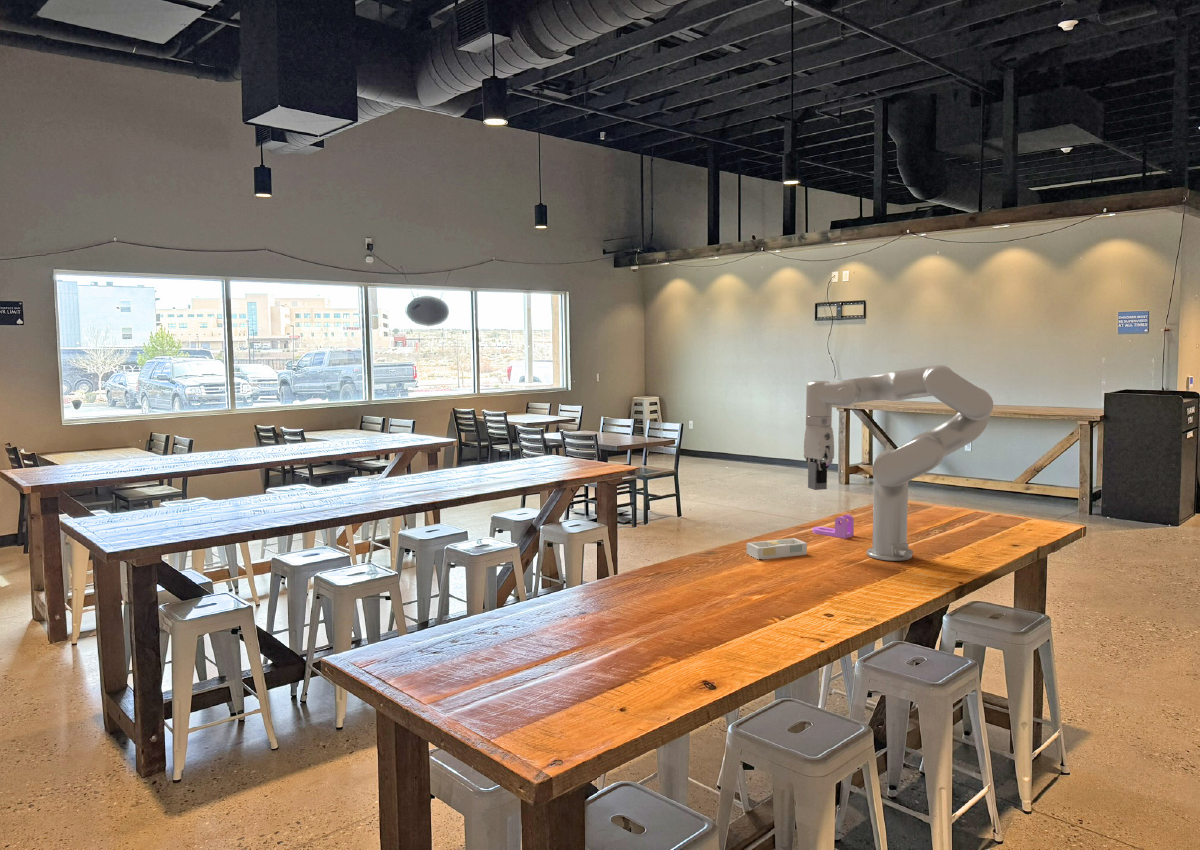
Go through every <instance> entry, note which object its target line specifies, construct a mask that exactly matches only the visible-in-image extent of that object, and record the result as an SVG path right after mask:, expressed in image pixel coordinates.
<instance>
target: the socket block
mask: <svg viewBox="0 0 1200 850" xmlns="http://www.w3.org/2000/svg"><path fill="white" fill-rule="evenodd" d="M747 554H749V555H750V556H749V555H748V556H749V557H751V556H752V557H751V558H753V557H754V558H753V559H755V558H756V559H755V560H757V559H758V560H757V561H760V560H759V559H762V560H769V559H780V558H788V557H797V556H805V555H807V554H808V543H807V542H805V541H803V540H800V539H798V538H796V537H795V538H794V537H791V538H781V539H773V540H762V541H754V542H746V555H747Z"/></svg>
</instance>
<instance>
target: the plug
mask: <svg viewBox="0 0 1200 850" xmlns="http://www.w3.org/2000/svg"><path fill="white" fill-rule="evenodd" d="M822 463H823V462H821V465H822ZM807 470H808V471H807V474H808V475H807V489H811V490H813V491H819V490H820V491H822V490H827V489H828V487H827V486H828V481H827V482H826V483H817V470H818V461H815V462H809V465H808V467H807Z"/></svg>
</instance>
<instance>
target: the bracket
mask: <svg viewBox="0 0 1200 850" xmlns="http://www.w3.org/2000/svg"><path fill="white" fill-rule="evenodd" d="M854 526H855V519H854V517H853V516H852V515H851V514H844V515H843V516H838V517H836V518H835V521H834V528H832V527H826V526H814V527H812V533H813V534H816V535H820V536H821V535H822V536H828V537H833V538H840V539H843V540H844V539H848V538H851V537H854V530H855V527H854Z"/></svg>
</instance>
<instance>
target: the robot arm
mask: <svg viewBox="0 0 1200 850" xmlns="http://www.w3.org/2000/svg"><path fill="white" fill-rule="evenodd" d="M805 391H806V393H805V394H806V396H805V397H806V399H805V400H806V402H805V403H806V404H805V407H806V408H805V432H804V441H803V458H804V459H805V461H806V463H807V465H806V467H807V468H808V465H809V462H815V461H818V470H817V483H826V482H827V483H828V470H829V467H830V465H832V463H833V460H834V458H835V438H834V430H833V427H832V424H833V423H832V421H833V420H832V418H833V415H832V414H833V410H832V409H833V406H836V407H837V406H838V407H844V408H845V407H849V406H851V405H853V404H858V403H863V402H864V403H866V402H873V401H891V402H892V401H904V400H911V399H919V398H927V397H934V398H935V399H937V400H938V401H939V402H941V403H942V404H944V405H945V406H947V407H949V408H951V409H953V410H954V411H955V412H957V413H956V414H955V415H953V417H951V418H950V419H948V420H946V421H944V422H943V423H941V424H939V425H937V426H935V427H933V428H931V429H929V430H927V431H925V432H923V433H920V434H918V435H917V434H916V436H914V437H913V438H912V439H911V440H910V442H909V441H908V442H907V443H906V444H904V445H902V446H899V447H897V448H896V449H886V450H883V451H882V452H880V453H879V454H878V455H877V457H876V458H875V460H874V462H873V464H872V470H871V471H872V477H873V478H874V479H873V506H872V507H873V508H872V510H873V511H872V512H873V513H872V515H873V516H872V547H870V548H868V549H866V554H867V556H868V557H870V558H873V559H877V560H882V561H893V562H894V561H895V562H899V561H900V562H902V561H907V560H910V559H912V557H913V554H914V550H912V549H910V548H909V543H908V540H907V539H908V506H909V482H910V481H912V480H913V479H916V478H919V477H921V476H922V475H924V474H926V473H929V472H930V471H932V470H934V469H935V468H936V467H939V465H940V464H941V463H942V462H943V460H944V458H945V457H947V456H948V455H951V454H952V453H954V452H956V451H959V450H960V449H961V448H964V447H965V446H967V445H969V444H971V443H972V442H974V441H975V440H977V439H978V438H979V437H980V436H981V434H983V433H984V431H985V429H986V428H987V426H988V423H989V421H990V419H991V413H992V412H993V409H994V401H993V397H992V396H991V395H990V393H988V392H987V391H986V390H985V389H984V388H983V389H982V388H980V387H978V386H977V385H975V384H973V383H972V382H970V381H968V380H967V379H965V378H964V377H962V376H961V375H959V374H957V373H956V372H955V371H953V370H952V369H951V368H950V367H949V366H947V365H943V364H940V365H939V364H937V365H929V366H924V367H917V368H910V369H909V368H908V369H904V370H896V371H890V372H886V373H882V374H876V375H869V376H863V377H857V378H848V379H844V380H841V381H835V382H834V381H833V382H830V381H829V380H811V381H808V383H807V384H806V390H805ZM821 462H823V463H822V465H821Z"/></svg>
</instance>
